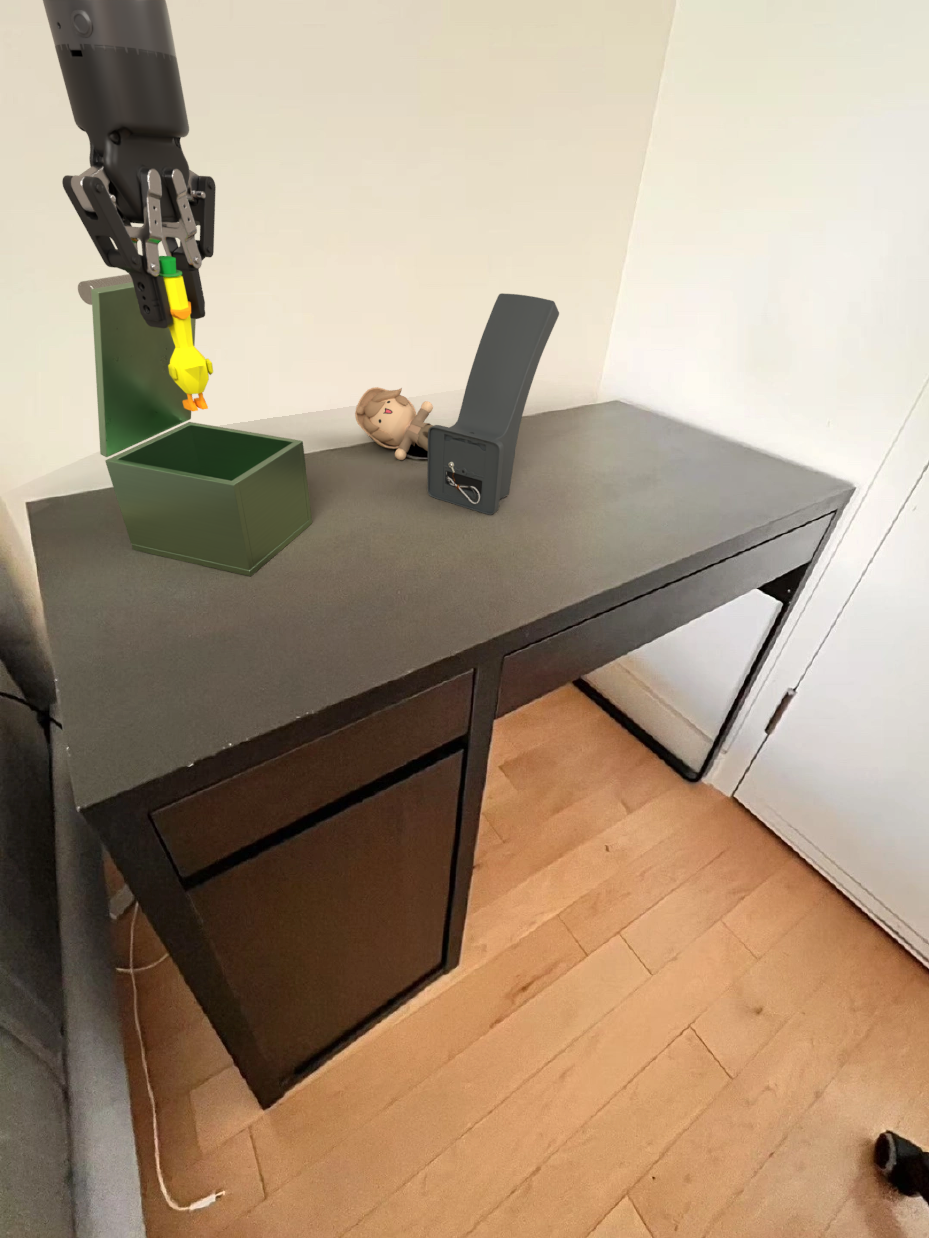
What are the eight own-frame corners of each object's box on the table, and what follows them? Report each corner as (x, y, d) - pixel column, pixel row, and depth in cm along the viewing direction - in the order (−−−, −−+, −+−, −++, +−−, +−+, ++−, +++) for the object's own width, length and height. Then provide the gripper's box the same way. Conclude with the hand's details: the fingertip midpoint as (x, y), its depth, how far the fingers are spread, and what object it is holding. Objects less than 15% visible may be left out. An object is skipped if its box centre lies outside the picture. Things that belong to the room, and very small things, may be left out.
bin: (312, 523, 78) (303, 440, 72) (250, 576, 67) (233, 484, 61) (207, 502, 81) (189, 421, 75) (132, 550, 71) (104, 460, 64)
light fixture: (548, 476, 94) (571, 299, 79) (492, 518, 82) (508, 317, 67) (486, 459, 98) (498, 288, 84) (425, 497, 86) (426, 304, 72)
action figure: (407, 456, 89) (339, 425, 96) (442, 487, 98) (378, 456, 105) (441, 394, 88) (371, 368, 95) (473, 431, 98) (407, 405, 105)
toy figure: (162, 400, 57) (124, 251, 50) (199, 393, 59) (168, 249, 52) (191, 420, 53) (153, 262, 46) (230, 412, 55) (200, 259, 48)
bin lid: (198, 275, 64) (149, 251, 65) (98, 292, 54) (41, 264, 54) (191, 419, 75) (149, 398, 75) (106, 457, 64) (58, 434, 64)
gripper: (145, 61, 48) (194, 304, 58) (-22, 28, 37) (74, 334, 48) (227, 62, 46) (262, 312, 57) (77, 27, 36) (155, 345, 46)
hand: (176, 320), depth 52 cm, fingers closed on toy figure, 3 cm apart
